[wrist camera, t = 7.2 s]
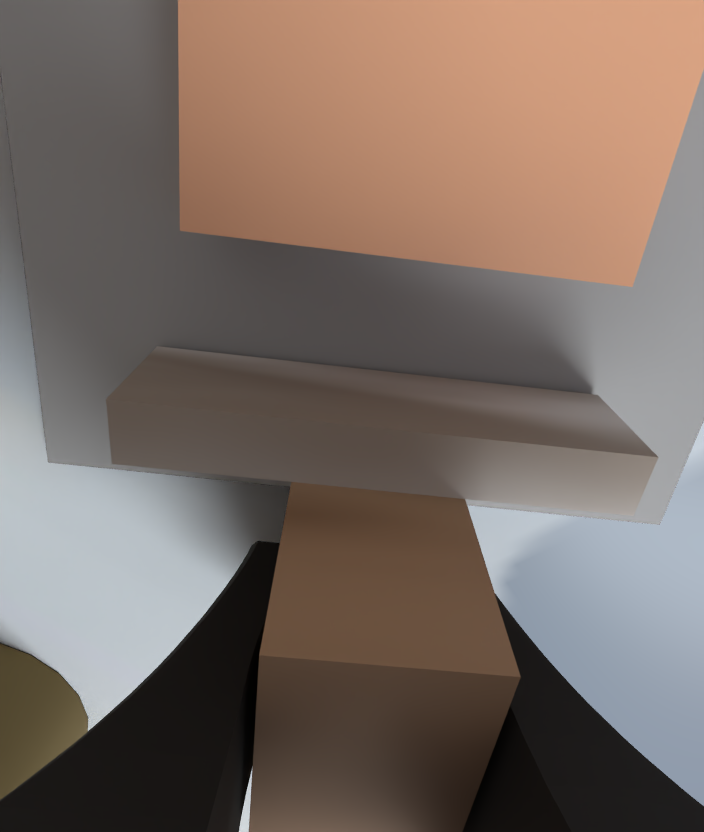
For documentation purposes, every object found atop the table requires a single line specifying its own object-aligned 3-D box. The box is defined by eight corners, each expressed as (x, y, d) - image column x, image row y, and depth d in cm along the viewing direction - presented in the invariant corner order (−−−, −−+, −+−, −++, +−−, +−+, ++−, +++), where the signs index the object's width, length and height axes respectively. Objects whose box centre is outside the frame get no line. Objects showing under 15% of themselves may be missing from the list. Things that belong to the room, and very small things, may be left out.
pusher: (511, 640, 14) (605, 935, 9) (169, 610, 14) (54, 901, 9) (598, 395, 11) (821, 625, 6) (157, 346, 11) (-37, 546, 5)
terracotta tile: (730, -251, 7) (853, -388, 6) (582, 267, 10) (632, 287, 8) (219, -342, 7) (173, -519, 5) (211, 220, 10) (180, 230, 8)
